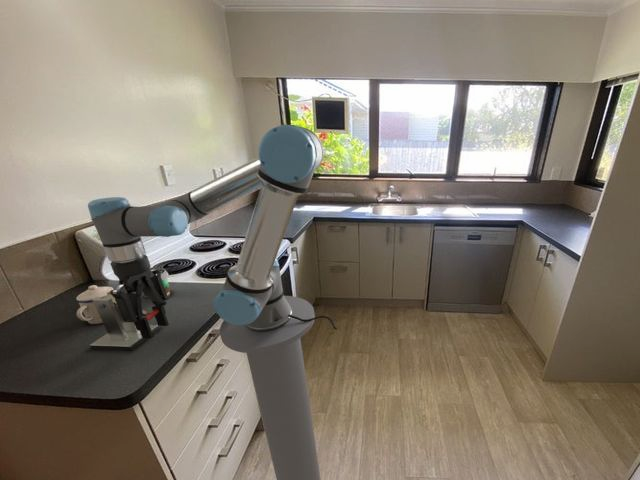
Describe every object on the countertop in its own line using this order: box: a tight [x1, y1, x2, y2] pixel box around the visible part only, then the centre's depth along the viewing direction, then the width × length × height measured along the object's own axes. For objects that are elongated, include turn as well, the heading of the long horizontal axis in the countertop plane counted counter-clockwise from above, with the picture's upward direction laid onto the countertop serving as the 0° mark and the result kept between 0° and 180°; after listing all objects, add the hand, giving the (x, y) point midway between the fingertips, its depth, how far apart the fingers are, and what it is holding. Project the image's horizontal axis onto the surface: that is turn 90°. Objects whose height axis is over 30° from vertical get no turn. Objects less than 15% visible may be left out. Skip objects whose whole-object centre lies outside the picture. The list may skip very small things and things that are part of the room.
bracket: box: [89, 291, 160, 351], centre depth 83 cm, size 12×10×15 cm
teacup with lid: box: [75, 284, 115, 325], centre depth 92 cm, size 12×9×12 cm
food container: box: [142, 267, 171, 298], centre depth 108 cm, size 12×6×10 cm, turn 80°
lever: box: [103, 294, 160, 321], centre depth 81 cm, size 13×5×2 cm, turn 88°
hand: (156, 330), depth 84 cm, fingers closed on lever, 5 cm apart
